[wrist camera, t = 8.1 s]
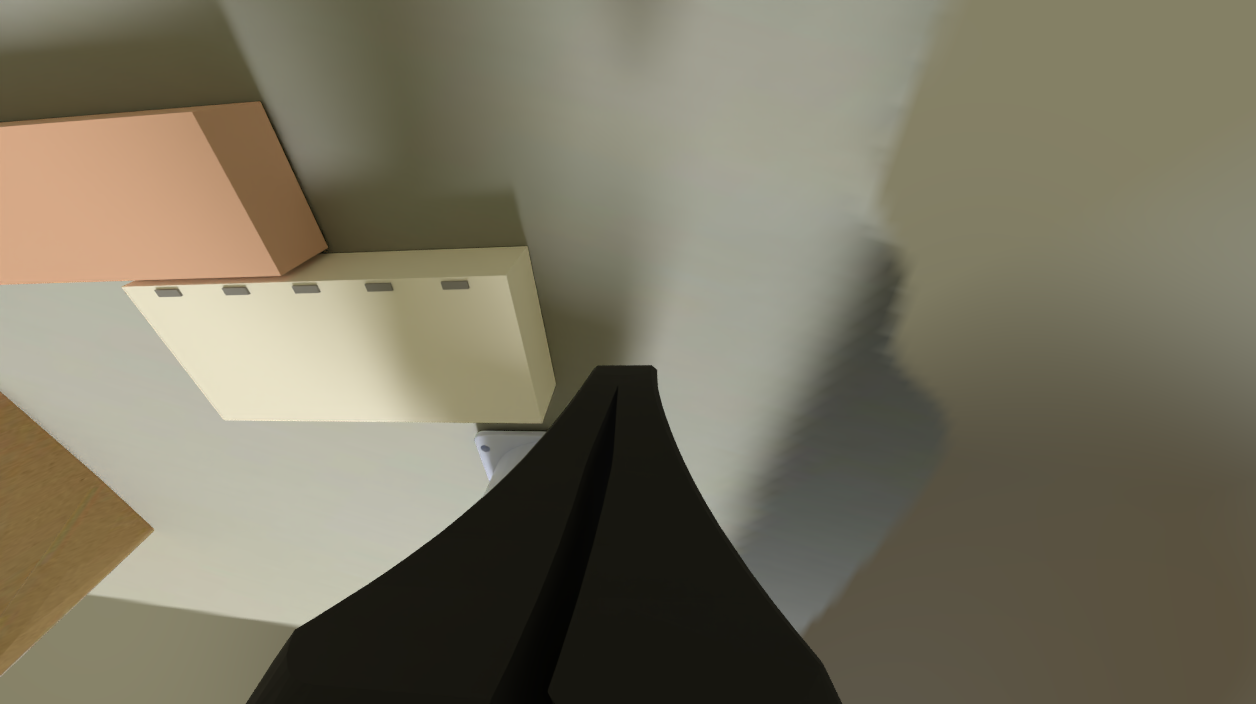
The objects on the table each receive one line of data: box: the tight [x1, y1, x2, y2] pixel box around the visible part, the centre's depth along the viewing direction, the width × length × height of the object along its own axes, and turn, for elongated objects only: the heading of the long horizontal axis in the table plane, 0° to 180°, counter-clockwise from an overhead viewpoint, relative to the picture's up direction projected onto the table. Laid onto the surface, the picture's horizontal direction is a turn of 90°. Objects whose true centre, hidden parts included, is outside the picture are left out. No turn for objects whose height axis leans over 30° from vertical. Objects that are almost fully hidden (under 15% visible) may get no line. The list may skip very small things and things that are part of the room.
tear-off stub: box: [0, 101, 328, 285], centre depth 18 cm, size 6×16×3 cm, turn 94°
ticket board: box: [122, 246, 556, 423], centre depth 20 cm, size 7×16×3 cm, turn 94°
